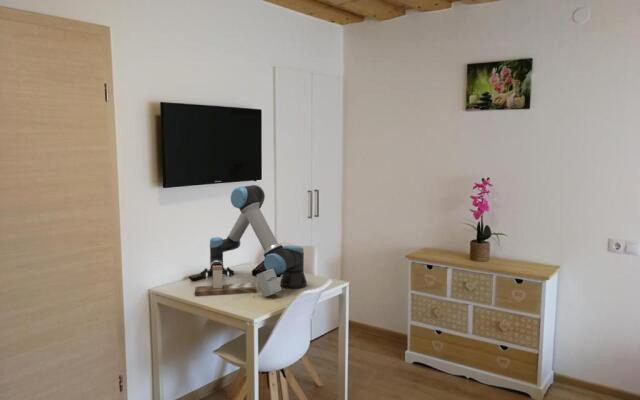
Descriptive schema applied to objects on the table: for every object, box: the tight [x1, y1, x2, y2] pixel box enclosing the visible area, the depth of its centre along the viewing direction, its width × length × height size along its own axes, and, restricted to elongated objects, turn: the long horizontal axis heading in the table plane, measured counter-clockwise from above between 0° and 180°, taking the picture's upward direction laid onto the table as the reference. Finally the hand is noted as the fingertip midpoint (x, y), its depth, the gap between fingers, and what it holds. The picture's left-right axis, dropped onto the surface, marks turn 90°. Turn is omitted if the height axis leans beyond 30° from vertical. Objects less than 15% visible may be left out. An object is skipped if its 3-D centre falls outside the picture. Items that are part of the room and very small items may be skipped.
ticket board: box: [194, 282, 258, 297], centre depth 281 cm, size 33×10×3 cm, turn 102°
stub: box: [212, 265, 223, 288], centre depth 279 cm, size 5×2×12 cm, turn 102°
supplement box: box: [255, 268, 282, 298], centre depth 272 cm, size 7×7×13 cm
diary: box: [251, 260, 283, 278], centre depth 325 cm, size 19×25×5 cm
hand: (217, 277), depth 275 cm, fingers open, 11 cm apart
